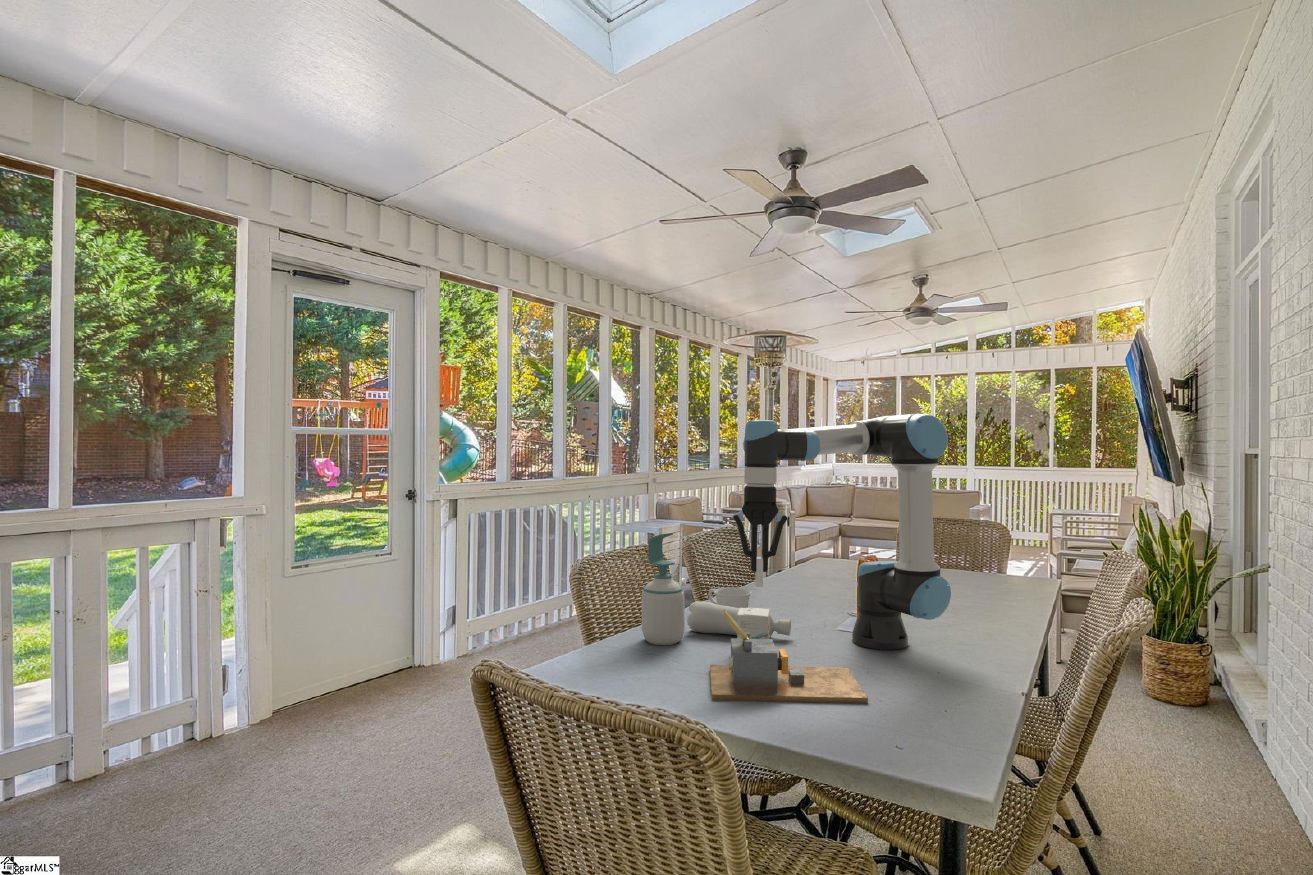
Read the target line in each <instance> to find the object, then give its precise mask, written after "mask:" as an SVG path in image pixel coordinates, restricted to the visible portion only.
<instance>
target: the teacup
mask: <svg viewBox="0 0 1313 875" xmlns="http://www.w3.org/2000/svg"><path fill="white" fill-rule="evenodd" d="M752 592H753V591H751V590H750V589H748V588H745V587H736V586H732V587H731V586H730V587H729V586H724V587H719V588H709V590H708V595H707V596H708V599H709V601H710V603H713V604H717V605H723V606H729V607H735V608H749V605H750V604H749V601H750V597H751V595H752ZM712 593H714V597H716V599H714V598H713V596H712Z"/></svg>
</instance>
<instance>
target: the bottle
mask: <svg viewBox="0 0 1313 875" xmlns="http://www.w3.org/2000/svg"><path fill="white" fill-rule="evenodd" d="M724 609H725V610H726V611H727V612H728V613H729V614H730V616H731V617H732V618H733V619H734V620H735V622H736V623H737V614H738V611H739V609H740V608H735V607H729V606H723V605H717V604H714V603H712V602H708V601H700V600H699V601H698V600H696V601H694V602H692V603H691V604H690V605H689V607H688V610H689V612H690V614H688V615H687V619H686V621H687V623H686V624H687V625H688V627H689V628H690V630H692V631H693V633H694V632H695V633H701V634H720V635H732V636H737V633H736V632H735V630H734V629H733V628H732V627H731V626H730V624H729V623H728V622H727V621H726V620H725V618H724V617H723V616H722V611H723V610H724ZM769 614H770V637H769V638H772V636H773V634H774V632H776V633H777V634H778V635H783V636H784V635H785V636H789V637H790V636H791V630H792V620H791V619H780V618H779V619H778V620H775V619H774V615H773V614H772V613H771V612H769Z"/></svg>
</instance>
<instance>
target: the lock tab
mask: <svg viewBox="0 0 1313 875" xmlns="http://www.w3.org/2000/svg"><path fill="white" fill-rule="evenodd" d="M722 616H723V617H724V618H725V620H726V621H727V622H728V623H729V624H730V626H731V627H732V628H733V629H734V630H735V632H736V633H737V634H738V635H739V637H740V638H741V639H742V640H743V641H744V640H749V637H748V635H746V634H745V632H744V631H743V630H742V629H741V628H740V626H739V625H738V624H737V623H736V622H735V620H734V619H733V618H732V617H731V616H730V614H729V613H728V612H727V611H726V610H725V609H724V610H723V611H722Z"/></svg>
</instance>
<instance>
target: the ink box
mask: <svg viewBox="0 0 1313 875" xmlns="http://www.w3.org/2000/svg"><path fill="white" fill-rule="evenodd" d="M769 613H771V612H770V608H761V607H759V608H758V607H748V608H740V609H739V611H738V614H737V624H738V625H739V626H740V628H741V629H742V630H743V631H744V632H749V639H770V638H771V637H770V614H769ZM736 639H741V638H740V637H739V635H738V634H737V635H736Z"/></svg>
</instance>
